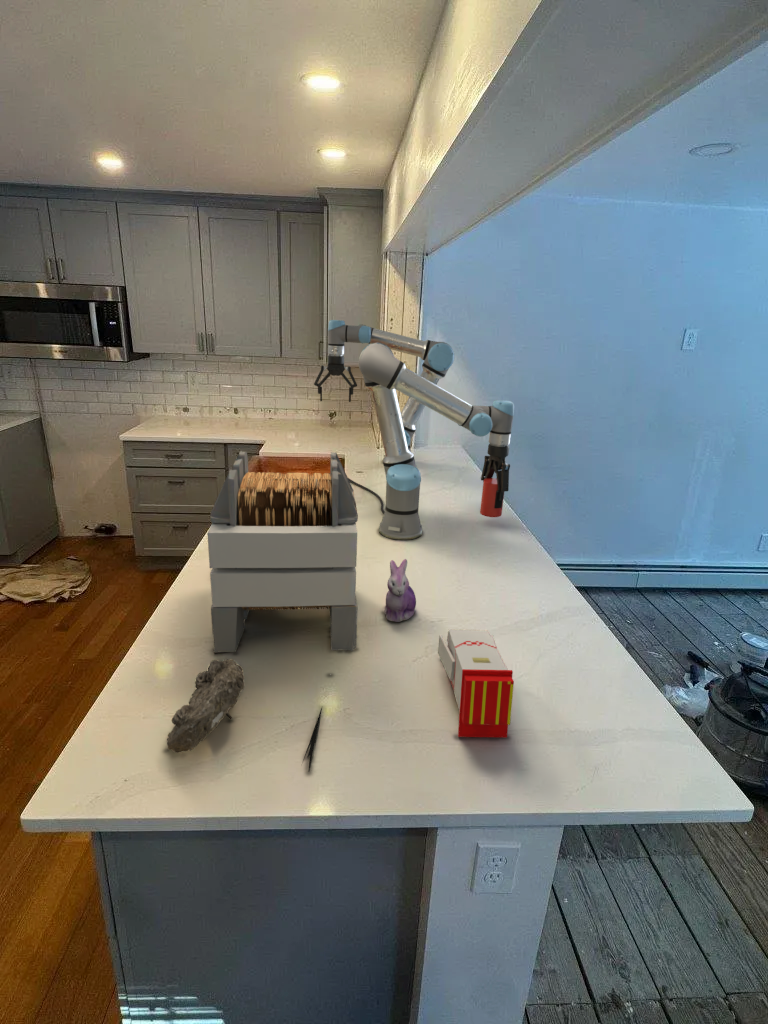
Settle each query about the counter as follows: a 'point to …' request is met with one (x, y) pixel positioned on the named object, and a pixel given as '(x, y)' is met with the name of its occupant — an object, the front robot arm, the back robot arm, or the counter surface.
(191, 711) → the grey rough elongated piece
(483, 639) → the toy
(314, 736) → the feather
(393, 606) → the figurine
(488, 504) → the cylinder
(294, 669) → the counter surface
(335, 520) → the grey record crate stand
